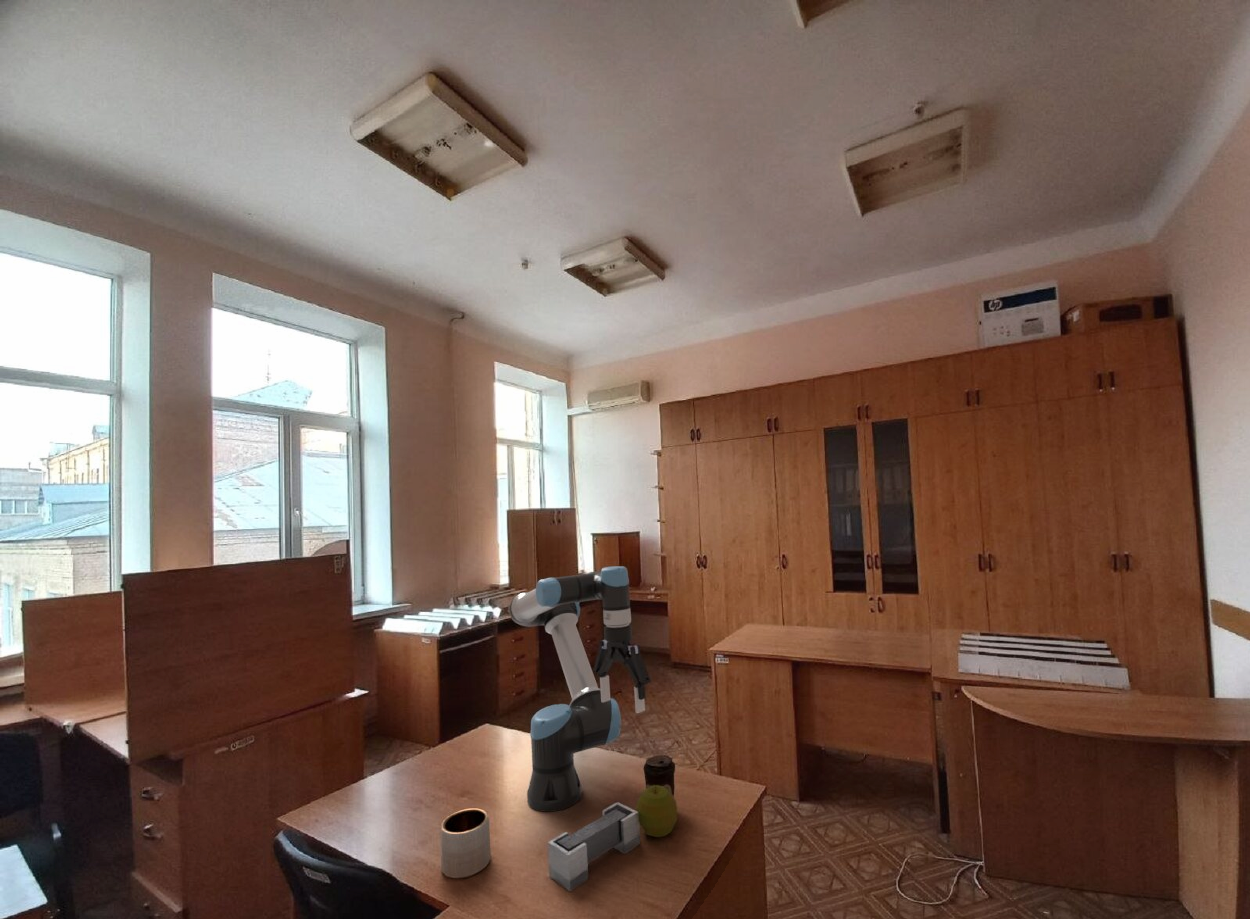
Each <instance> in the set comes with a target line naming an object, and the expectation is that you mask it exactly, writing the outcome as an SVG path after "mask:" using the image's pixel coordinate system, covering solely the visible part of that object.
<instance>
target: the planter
mask: <svg viewBox="0 0 1250 919" xmlns="http://www.w3.org/2000/svg"><path fill="white" fill-rule="evenodd" d="M490 833H491V832H490V814H489V812H488V811H487V810H485V809H483V808H478V807H471V808H470V807H469V808H464V809H461V810H457V811H455V812H453V813H451V814H449V815H448V816H447V817H445V818H444V819H443V821H442V822H441V823H440V863H441V865H440V867H441V872H442V874H443V873H444V874H445V875H444V874H443V875H444V876H446V875H447V876H446V877H448V876H449V877H448V878H450V877H452V878H451V879H455V878H461V879H466V878H469V876H470V877H472V876H475V875H476V873H477V874H478V873H479V872H481V871H482V870H484V869H485V868H486V867H487V865H488V864H489V863H490V861H491V856H492V855H491V854H492V853H491V852H492V851H491V836H490V835H491V834H490ZM474 874H475V875H474ZM471 875H472V876H471ZM465 877H466V878H465Z"/></svg>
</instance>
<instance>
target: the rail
mask: <svg viewBox="0 0 1250 919" xmlns="http://www.w3.org/2000/svg"><path fill="white" fill-rule="evenodd" d="M625 817H627V815H626V814H624V813H622V812H620V811H618V810H616V809H615V810H613V811H611V812H610V813H608V814H606V815H604V816H603V815H602V816H601V817H599V818H597V819H596V820H594V821H591V822H590V823H588V824H587V825H585V826H583V827H581V828H579V829H578V830H576V831H574V832H572V833H570V834H568V836H567V837H565V838H563V839H561V840H560V841H558V845H559V846H560V847H562V848H564V849H565V850H567V851H568V852H570V851H571V850H573V849H574V848H576V847H578V846H579V845H581V844H583V843H586V844H587V863H588V864H589V863H591V862H592V861H593V860H595V859H597V858H598V857H600V856H602V855H603V854H604V853H606V852H608V851H609V850H612V849H613V848H614V846H616V845H618V844H619V843H621V842H622V834H621V820H622V819H623V818H625Z"/></svg>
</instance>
